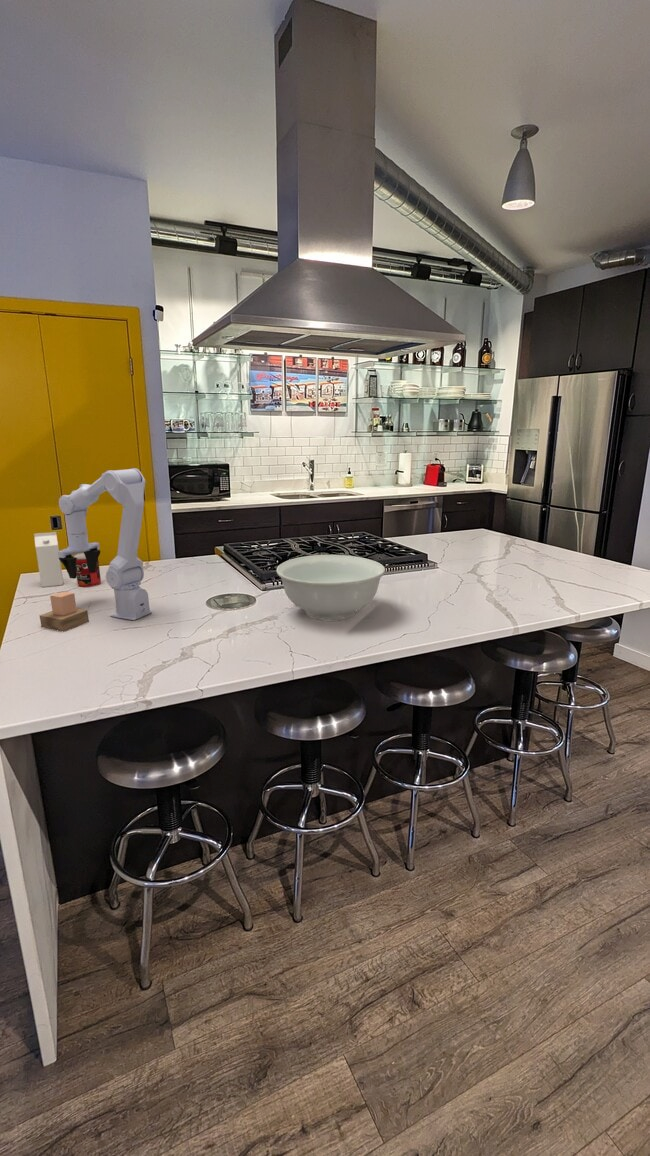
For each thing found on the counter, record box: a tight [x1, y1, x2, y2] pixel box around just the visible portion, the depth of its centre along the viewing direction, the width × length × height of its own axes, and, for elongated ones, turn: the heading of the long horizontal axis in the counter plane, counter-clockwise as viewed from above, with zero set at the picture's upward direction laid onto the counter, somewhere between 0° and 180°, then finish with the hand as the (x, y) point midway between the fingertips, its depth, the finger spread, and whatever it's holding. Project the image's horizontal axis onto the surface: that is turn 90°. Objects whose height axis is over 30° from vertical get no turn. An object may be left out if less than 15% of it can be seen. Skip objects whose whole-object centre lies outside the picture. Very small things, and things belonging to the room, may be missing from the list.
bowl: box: [276, 554, 386, 621], centre depth 167 cm, size 32×32×15 cm
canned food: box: [73, 552, 102, 588], centre depth 200 cm, size 8×8×11 cm
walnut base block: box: [39, 607, 90, 633], centre depth 160 cm, size 9×9×4 cm
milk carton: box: [33, 531, 64, 588], centre depth 200 cm, size 7×7×19 cm
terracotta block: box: [49, 591, 77, 616], centre depth 159 cm, size 4×4×6 cm
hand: (82, 575), depth 176 cm, fingers open, 7 cm apart
